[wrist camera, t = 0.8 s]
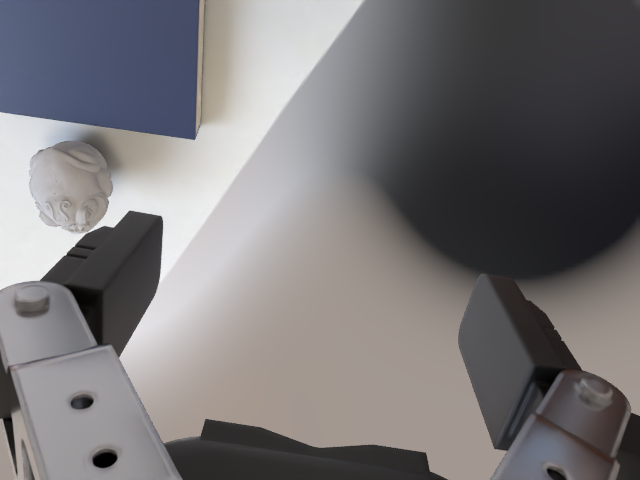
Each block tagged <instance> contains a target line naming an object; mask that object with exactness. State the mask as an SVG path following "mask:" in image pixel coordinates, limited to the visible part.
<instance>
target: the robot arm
mask: <svg viewBox="0 0 640 480" xmlns="http://www.w3.org/2000/svg"><path fill="white" fill-rule="evenodd" d="M162 235H163V220H162V217H161V216H157V215H152V214H146V213H140V212H135V211H129V212H128V213H127V214H126V215H125V216H124V217H123V219H122V220H121V221H120V222H119V223H118V224H117V225H116V226H115V227H114V228H112V227H106V226H103V227H101V228H99V229H96V230H94V231H92V232H89V233H87V234H86V235H85V236H84V237H83V238H82V239H81V240H80V241H79V242H78V243H77V244H76V245H75V247H73V248H72V249H71V250H70V251H69V252H68V253H67V255H66V256H64V257H63V258H62V259H61V260H60V261H59V262H58V263H57V264H56V265H55V266H54V267H53V268H52V269H51V270H50V271H49V272H48V273H47V274H46V275H45V276H44V277H43V278H42V279H41V280H40V281H30V282H23V283H18V284H14V285H11V286H8V287H6V288H4V289H2V290H0V419H1V423H2V427H3V432H4V436H5V441H6V445H7V449H8V453H9V457H10V462H11V466H12V470H13V474H14V478H15V480H447V479H446V478H443V477H441V476H439V475H437V474H435V473H432V472H430V470H429V465H428V461H427V455H426V453H423V452H418V451H411V450H404V449H398V448H391V447H385V446H378V445H361V446H345V447H329V448H317V447H312V446H309V445H307V444H304V443H301V442H299V441H296V440H293V439H290V438H288V437H285V436H282V435H280V434H277V433H274V432H272V431H269V430H266V429H264V428H260V427H254V426H247V425H241V424H235V423H228V422H221V421H215V420H209V419H206V420H205V423H204V427H203V430H202V433H201V436H199V437H189V438H183V439H178V440H174V441H170V442H167V443H163V442H162V440H161V439H160V436H159V434H158V433H157V431H156V429H155V427H154V425H153V423H152V421H151V419H150V417H149V415H148V413H147V412H146V410H145V408H144V406H143V404H142V402H141V400H140V398H139V396H138V394H137V392H136V391H135V389H134V387H133V385H132V383H131V381H130V379H129V377H128V375H127V373H126V371H125V369H124V367H123V365H122V363H121V362H120V360H119V357H120V355H121V353H122V351H123V350H124V348H125V346H126V344H127V343H128V341H129V339H130V338H131V336H132V334H133V332H134V330H135V329H136V327H137V325H138V324H139V322H140V320H141V318H142V317H143V315H144V313H145V312H146V310H147V308H148V306H149V305H150V303H151V301H152V299H153V298H154V296H155V293H156V290H157V287H158V283H159V278H160V269H161V252H162ZM458 337H459V338H458V342H459V349H460V351H461V354H462V357H463V360H464V363H465V366H466V369H467V372H468V374H469V377H470V380H471V383H472V386H473V389H474V392H475V394H476V397H477V400H478V403H479V406H480V409H481V412H482V415H483V417H484V420H485V423H486V426H487V429H488V432H489V434H490V437H491V440H492V443H493V446H494V448H495V449H499V450H506V451H507V453H506V454H505V456H504V458H503V459H502V461H501V462H500V464H499V466H498V467H497V469H496V470H495V472H494V474H493V475H492V477H491V478H490V480H640V416H638V415H636V414H633V413H631V406H630V403H629V401H628V400H627V398H626V397H625V395H624V394H623V393H622V392H621V391H620V390H619V389H618V388H616V387H615V386H614V385H612V384H611V383H609V382H607V381H606V380H605V379H603V378H601V377H599V376H597V375H595V374H592V373H589V372H586V371H583V370H582V369H581V367H580V366H579V365H578V363H577V361H576V360H575V358H574V357H573V355H572V354H571V352H570V351H569V349H568V347H567V346H566V344H565V343H564V341H561V337H560V335H559V334H558V332H557V330H554V326H553V324H552V323H551V321H550V320H549V318H548V317H547V315H546V314H545V313H544V312H543V311H542V310H540V309H539V308H538V307H537V306H536V305H535V304H533V303H532V302H531V301H528V300H526V299H525V297H524V295H523V294H522V292H521V291H520V289H519V287H518V286H517V284H516V282H515V281H514V280H513V279H511V278H506V277H501V276H495V275H489V274H481V275H480V276H479V277H478V279H477V281H476V284H475V287H474V289H473V292H472V295H471V297H470V300H469V303H468V305H467V308H466V311H465V313H464V316H463V319H462V322H461V325H460V329H459V336H458Z"/></svg>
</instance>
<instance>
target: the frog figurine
mask: <svg viewBox="0 0 640 480" xmlns="http://www.w3.org/2000/svg"><path fill="white" fill-rule="evenodd" d="M29 175H30V177H31V178H30V182H29V187H30V191H31V194H32V196H33V197H34V199H35V200H36V202H35V203H36V204H37V205H36V207H37V209H38V210H39V211H40V214H39V217H40V218H41V220H42V221H43V222H44V223H45V224H46V225H48V226H55V227H57V226H61V228H62V229H65V230H67V231H69V232H72V233H84V232H87V231H89V230H91V229H92V228H93V227H94V226H95V225H96V224H97V223H98V222H99V221H100V220H101V219H102V218H103V216H104V215H105V213H106V211H107V208H108V204H109V201H108V199H107V198H108V197H109V196H110V195H111V193H112V189H113V186H112V181H111V174H110V172H109V169H108V166H107V163H106V161H105V159H104V157H103V156H102V155H101V153H100V152H99V151H98V150H96V149H95V148H94V147H92V146H91V145H89V144H86V143H83V142H79V141H65V142H61V143H58V144H56V145H54V146H53V147H49V148H47V149H45V150H39V151H38V152H37V154H36V155H34V156H33V157H32V159H31V161H30V170H29Z"/></svg>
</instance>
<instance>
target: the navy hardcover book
mask: <svg viewBox="0 0 640 480" xmlns="http://www.w3.org/2000/svg"><path fill="white" fill-rule="evenodd" d="M204 4H205V0H0V112H4V113H11V114H17V115H24V116H31V117H38V118H45V119H52V120H59V121H66V122H73V123H80V124H87V125H94V126H101V127H108V128H115V129H122V130H129V131H136V132H143V133H150V134H157V135H164V136H171V137H178V138H185V139H192V140H195V139H196V136H197V133H198V130H199V127H200V119H201V91H202V62H203V33H204Z"/></svg>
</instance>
